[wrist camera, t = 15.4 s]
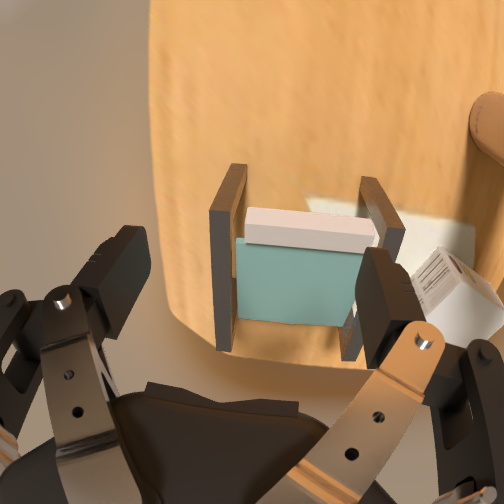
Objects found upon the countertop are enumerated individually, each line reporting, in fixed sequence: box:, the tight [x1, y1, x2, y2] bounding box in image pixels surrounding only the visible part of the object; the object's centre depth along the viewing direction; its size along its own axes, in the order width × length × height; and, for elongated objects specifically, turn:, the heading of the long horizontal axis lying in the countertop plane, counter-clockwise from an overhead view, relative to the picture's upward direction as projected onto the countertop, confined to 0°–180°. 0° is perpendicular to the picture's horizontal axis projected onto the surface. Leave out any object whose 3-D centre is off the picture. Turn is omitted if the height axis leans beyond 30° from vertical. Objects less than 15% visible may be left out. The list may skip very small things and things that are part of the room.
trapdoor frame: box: [209, 163, 406, 361], centre depth 41 cm, size 21×19×13 cm
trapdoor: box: [236, 207, 375, 327], centre depth 36 cm, size 17×14×2 cm
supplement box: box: [410, 246, 504, 348], centre depth 45 cm, size 17×13×9 cm
